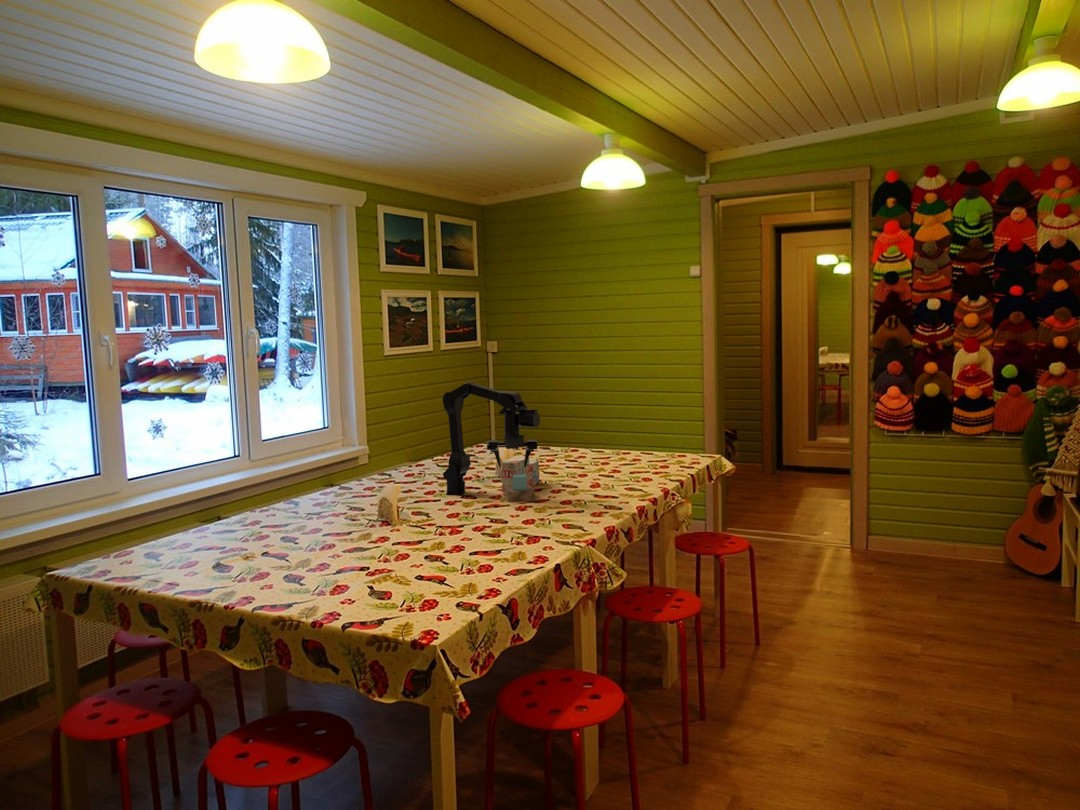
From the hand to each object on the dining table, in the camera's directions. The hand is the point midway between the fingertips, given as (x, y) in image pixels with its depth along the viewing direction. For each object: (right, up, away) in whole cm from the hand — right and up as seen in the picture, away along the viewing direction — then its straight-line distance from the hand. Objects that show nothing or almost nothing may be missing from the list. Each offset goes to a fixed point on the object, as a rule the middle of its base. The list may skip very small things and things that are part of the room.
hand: (512, 467), depth 303 cm
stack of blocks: (+3, -10, +20) cm, 23 cm away
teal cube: (+3, -8, 0) cm, 8 cm away
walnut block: (+3, -12, +1) cm, 12 cm away
